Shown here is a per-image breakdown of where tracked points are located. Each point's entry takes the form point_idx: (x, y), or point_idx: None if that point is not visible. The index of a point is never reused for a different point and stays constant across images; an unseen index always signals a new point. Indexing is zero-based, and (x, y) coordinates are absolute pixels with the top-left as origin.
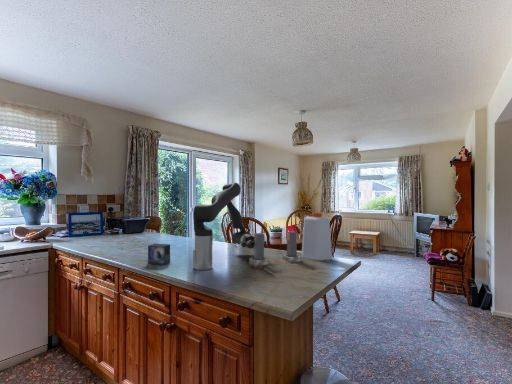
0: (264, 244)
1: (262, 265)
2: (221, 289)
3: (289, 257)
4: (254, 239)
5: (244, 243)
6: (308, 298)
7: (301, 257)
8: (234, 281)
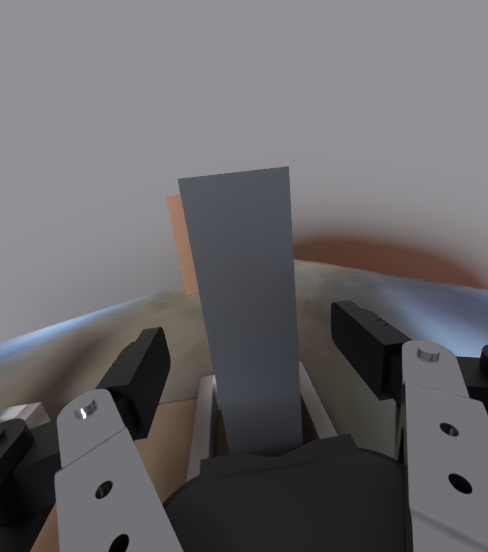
0: (161, 342)
1: None
2: (382, 276)
3: (23, 412)
4: (291, 253)
5: (484, 353)
6: None
7: None
8: (367, 298)
